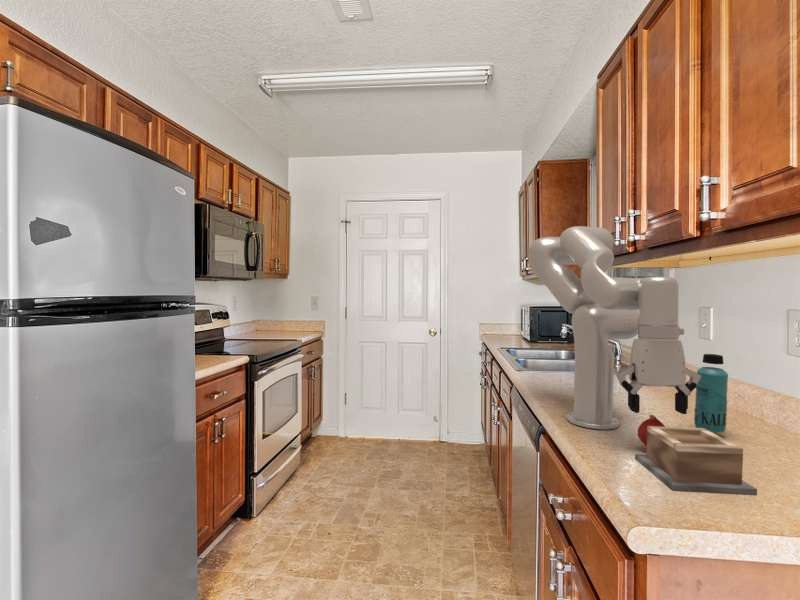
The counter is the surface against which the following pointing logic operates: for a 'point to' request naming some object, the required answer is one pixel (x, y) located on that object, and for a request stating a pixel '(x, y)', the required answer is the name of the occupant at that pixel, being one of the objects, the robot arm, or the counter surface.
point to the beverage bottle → (711, 396)
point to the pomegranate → (643, 428)
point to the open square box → (694, 460)
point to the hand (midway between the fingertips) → (657, 411)
